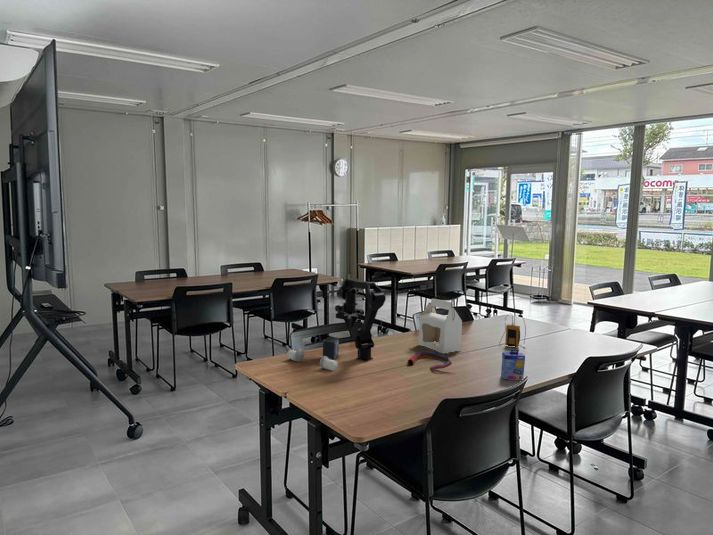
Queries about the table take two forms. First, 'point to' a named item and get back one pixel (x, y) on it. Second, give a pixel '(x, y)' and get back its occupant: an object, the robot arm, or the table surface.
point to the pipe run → (324, 363)
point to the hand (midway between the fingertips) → (349, 329)
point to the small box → (331, 347)
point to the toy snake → (432, 355)
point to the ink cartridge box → (512, 365)
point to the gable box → (440, 327)
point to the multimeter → (513, 334)
